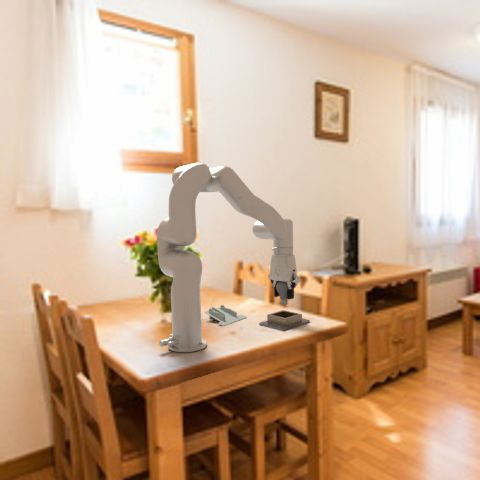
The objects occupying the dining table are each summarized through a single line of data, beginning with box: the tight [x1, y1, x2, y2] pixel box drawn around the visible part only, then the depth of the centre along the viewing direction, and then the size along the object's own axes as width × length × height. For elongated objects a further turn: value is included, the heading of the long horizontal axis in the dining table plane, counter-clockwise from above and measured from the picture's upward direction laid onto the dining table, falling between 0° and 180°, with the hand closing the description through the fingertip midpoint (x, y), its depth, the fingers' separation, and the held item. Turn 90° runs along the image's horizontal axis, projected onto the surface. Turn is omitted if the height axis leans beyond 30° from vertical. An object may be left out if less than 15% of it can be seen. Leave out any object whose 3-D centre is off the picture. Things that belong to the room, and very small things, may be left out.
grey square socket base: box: [258, 310, 311, 332], centre depth 159 cm, size 16×12×4 cm
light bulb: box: [276, 281, 289, 306], centre depth 158 cm, size 6×6×10 cm
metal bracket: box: [204, 304, 248, 327], centre depth 167 cm, size 14×6×15 cm
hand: (284, 297), depth 158 cm, fingers closed on light bulb, 6 cm apart
